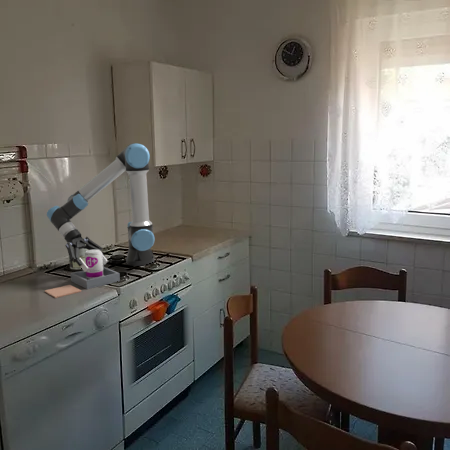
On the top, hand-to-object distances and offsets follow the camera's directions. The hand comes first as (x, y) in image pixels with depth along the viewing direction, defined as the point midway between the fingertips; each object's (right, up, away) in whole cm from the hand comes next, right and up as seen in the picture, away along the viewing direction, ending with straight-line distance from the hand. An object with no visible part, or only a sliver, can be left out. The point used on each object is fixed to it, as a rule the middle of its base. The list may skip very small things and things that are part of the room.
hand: (96, 266), depth 228 cm
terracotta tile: (-12, -10, -12) cm, 20 cm away
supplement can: (-1, -8, +2) cm, 8 cm away
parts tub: (-1, -7, +2) cm, 8 cm away
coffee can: (-17, -3, +28) cm, 33 cm away
